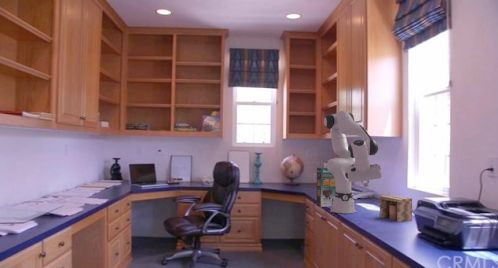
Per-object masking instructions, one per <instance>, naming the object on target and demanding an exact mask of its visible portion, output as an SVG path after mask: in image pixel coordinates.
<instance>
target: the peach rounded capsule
mask: <svg viewBox="0 0 498 268" xmlns="http://www.w3.org/2000/svg"><path fill="white" fill-rule="evenodd" d="M388 218H389V219H390V220H391V221H392V220H393V221H397V205H389V217H388Z"/></svg>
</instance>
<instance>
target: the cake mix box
mask: <svg viewBox="0 0 498 268" xmlns="http://www.w3.org/2000/svg"><path fill="white" fill-rule="evenodd" d="M335 192H336V182H335V178H334V176H333V175H332V173H331V172H329V171H328V169H327V167H316V206H317V207H320V208H323V207H332V205H331V202H332V201H333V200H334V199H335Z"/></svg>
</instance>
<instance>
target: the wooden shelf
mask: <svg viewBox="0 0 498 268" xmlns="http://www.w3.org/2000/svg"><path fill="white" fill-rule="evenodd" d="M389 205H397V220H396V222H398V223H400V222H408V221H412V220H413V198H409V197H404V196H397V195H382V196H381V195H380V196H379V218H389Z"/></svg>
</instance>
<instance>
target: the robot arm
mask: <svg viewBox="0 0 498 268" xmlns="http://www.w3.org/2000/svg"><path fill="white" fill-rule="evenodd" d="M323 125H324V127H325V128H326V129H330V140H331V145H332V151H333V152H334V154H336V155H338V156H339V157H334V158H331V159H328V161H327V162H326V168H327V169H328V171H329V172H331V173H332V175H333V176H334V178H335V182H336V192H335V199H334V200H333V201H332V202H331V205H332V206H330V210H329V212H330V213H337V214H355V213H357V212H358V211H357V210H356V209H355V200H354V199H353V192H352V183H356V182H360V183H361V184H362V186H363V188H366V187H369V184H370V181H371V180H377V179H378V180H379V179H381V178H382V173H381V169H382V168H381V165H380V164H378V163H374V164H370V163H371V162H370V159H369V156H375V155H376V154H377V153H378V152H379V146H378V143H377V142H376V140H374V139H373V138H372V137H371V135H370V134H369V133H368V131H367V130H366V128H365V127H363V125H362V124H358V123H357V122H356V121H355V116H354V114H353V113H351V112H348V111H347V110H340V111H338V112H337V113H332V114H327V115H325V116H324V119H323ZM347 136H357V137H360V138H361V139H356V140H354V141H352V143H350V144H348V138H347ZM346 174H347V176H346ZM364 181H366V182H365V183H364Z"/></svg>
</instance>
